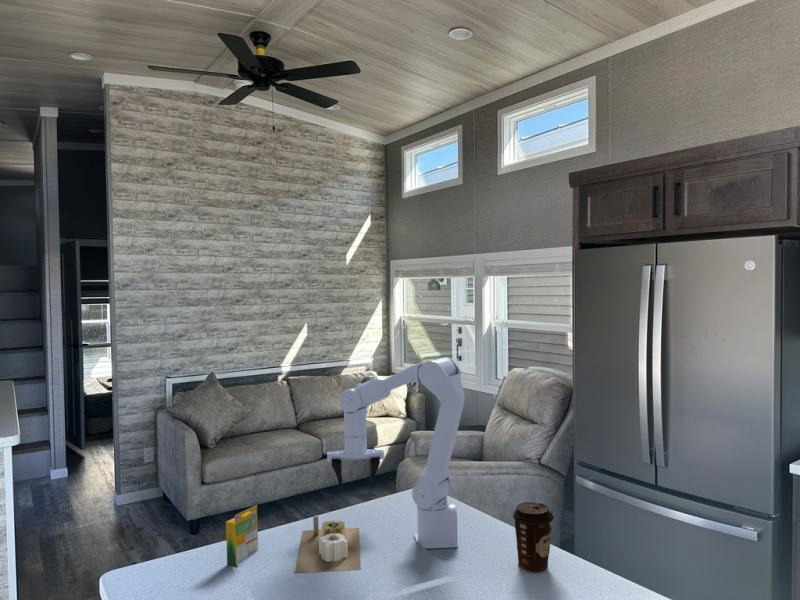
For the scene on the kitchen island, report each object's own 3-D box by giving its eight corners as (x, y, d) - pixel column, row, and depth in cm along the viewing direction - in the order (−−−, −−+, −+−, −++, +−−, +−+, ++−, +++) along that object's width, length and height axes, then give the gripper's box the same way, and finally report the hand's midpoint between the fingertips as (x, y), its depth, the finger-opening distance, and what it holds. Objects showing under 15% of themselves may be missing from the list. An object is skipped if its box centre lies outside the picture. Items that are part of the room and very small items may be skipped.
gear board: (359, 531, 147) (358, 510, 147) (360, 574, 125) (360, 548, 125) (302, 534, 146) (302, 512, 146) (294, 577, 124) (294, 552, 124)
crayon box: (249, 551, 137) (248, 502, 137) (258, 554, 136) (258, 504, 135) (226, 564, 131) (225, 513, 130) (236, 567, 129) (235, 515, 129)
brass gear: (344, 536, 142) (344, 519, 142) (344, 545, 137) (344, 528, 137) (322, 537, 142) (322, 520, 142) (321, 546, 137) (321, 529, 137)
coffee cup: (555, 561, 130) (555, 502, 130) (552, 578, 122) (552, 516, 122) (516, 555, 133) (515, 498, 133) (510, 572, 125) (510, 512, 125)
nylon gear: (340, 548, 136) (339, 531, 135) (348, 558, 131) (348, 540, 131) (318, 553, 133) (317, 536, 133) (326, 563, 128) (326, 545, 128)
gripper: (382, 430, 155) (383, 481, 156) (327, 432, 154) (328, 483, 154) (384, 436, 148) (385, 490, 149) (326, 438, 147) (327, 492, 147)
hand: (356, 487), depth 151 cm, fingers open, 7 cm apart
